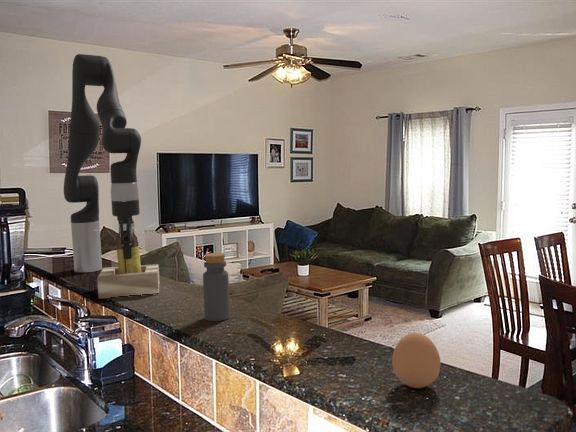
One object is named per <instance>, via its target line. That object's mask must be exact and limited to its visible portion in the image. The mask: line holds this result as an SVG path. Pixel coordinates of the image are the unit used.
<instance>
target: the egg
mask: <svg viewBox="0 0 576 432" xmlns="http://www.w3.org/2000/svg"><path fill="white" fill-rule="evenodd" d="M391 363H392V369H393V371H394V374H395V375H396V377H397V378H398V379H399V381H401V383H403V384H404V385H406V386H408V387H410V388H414V389H422V388H425V387H427V386H429V385H431V384H432V383H434V381H435V380H436V379H437V378H438V376H439V374H440V371H441V357H440V353H439V351H438V349H437V347H436V345H435V343H434V342H433V340H431V338H429V336H426V335H424V333H423V334H422V333H421V332H411V333H408V334H406V335H404V336H402V337H401V338H400V339H399V341H398V342H397V343H396V345H395V347H394V350H393V352H392V357H391Z"/></svg>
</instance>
